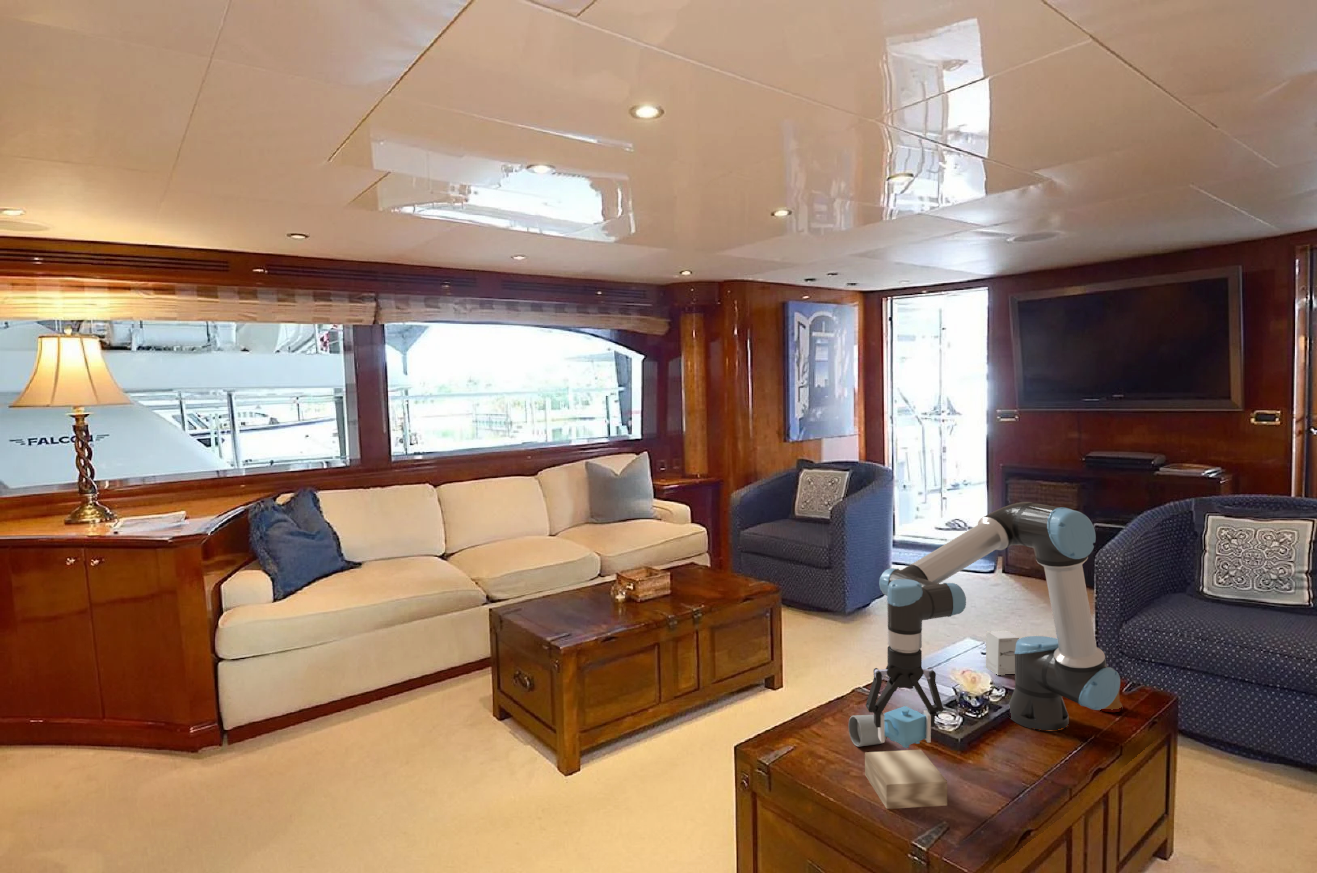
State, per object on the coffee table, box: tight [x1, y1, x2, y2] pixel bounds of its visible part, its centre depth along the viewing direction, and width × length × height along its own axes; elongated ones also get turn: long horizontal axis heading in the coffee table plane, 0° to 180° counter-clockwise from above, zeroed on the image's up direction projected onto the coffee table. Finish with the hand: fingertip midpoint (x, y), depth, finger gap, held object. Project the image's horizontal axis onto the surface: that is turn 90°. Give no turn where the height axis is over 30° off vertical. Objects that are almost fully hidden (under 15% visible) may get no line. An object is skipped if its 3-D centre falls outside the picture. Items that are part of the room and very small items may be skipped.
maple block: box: [864, 749, 948, 810], centre depth 166 cm, size 14×14×6 cm
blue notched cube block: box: [883, 705, 926, 749], centre depth 165 cm, size 12×6×8 cm, turn 120°
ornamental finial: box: [1104, 690, 1123, 710], centre depth 203 cm, size 8×8×8 cm
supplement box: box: [985, 629, 1020, 676], centre depth 231 cm, size 7×7×13 cm
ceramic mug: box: [848, 714, 888, 748], centre depth 189 cm, size 11×8×8 cm
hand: (904, 739), depth 165 cm, fingers closed on blue notched cube block, 10 cm apart
